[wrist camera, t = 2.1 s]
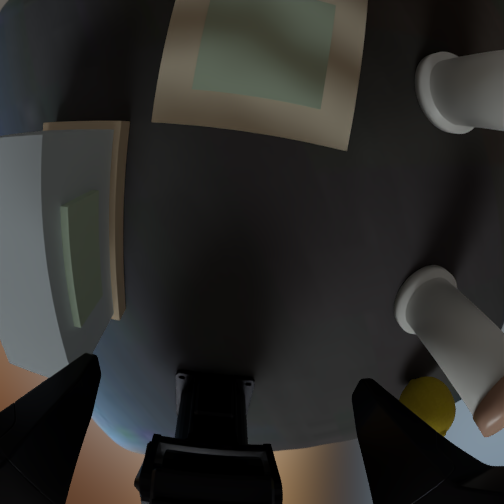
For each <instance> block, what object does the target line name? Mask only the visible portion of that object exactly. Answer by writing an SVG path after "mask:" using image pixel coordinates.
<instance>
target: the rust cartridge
mask: <svg viewBox="0 0 504 504" xmlns="http://www.w3.org/2000/svg"><path fill="white" fill-rule="evenodd" d="M394 316H395V319H396V320H397V322H398V323H399V324H400V326H401V327H402V328H403V330H404V331H406V332H408V333H411V334H416V335H417V336H418V337H419V339H420V340H421V341H422V343H423V344H424V345H425V347H426V348H427V349H428V351H429V352H430V354H431V355H432V356H433V358H434V359H435V361H436V362H437V363H438V365H439V366H440V368H441V369H442V370H443V372H444V373H445V375H446V376H447V377H448V379H449V380H450V382H451V383H452V385H453V386H454V388H455V389H456V391H457V392H458V394H459V395H460V397H461V398H462V400H463V401H464V403H465V404H466V406H467V407H468V409H469V410H470V412H471V413H472V415H473V420H474V421H475V423H476V425H477V426H478V427H479V430H480V431H481V433H482V434H483V436H484V437H489V436H491V435H493V434H495V433H497V432H498V431H500V430H501V429H502V428H504V333H503V332H502V331H501V330H500V329H499V328H498V327H497V326H496V325H495V324H494V323H493V322H492V321H491V320H490V319H489V318H488V317H487V316H486V315H485V314H484V313H483V312H482V311H481V310H480V309H479V308H477V307H476V306H475V305H474V304H473V303H472V302H471V301H470V300H469V299H468V298H467V297H466V296H464V295H463V294H462V293H461V292H460V291H459V290H458V289H457V284H456V281H455V278H454V277H453V275H452V274H450V273H449V272H448V271H447V270H446V269H444V268H443V267H441V266H438V265H429V266H425V267H423V268H421V269H419V270H417V271H416V272H414V273H413V274H412V275H411V276H410V277H409V278H408V279H407V280H406V281H405V282H404V283H403V285H402V286H401V288H400V289H399V291H398V293H397V295H396V298H395V302H394Z"/></svg>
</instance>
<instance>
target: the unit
mask: <svg viewBox="0 0 504 504" xmlns="http://www.w3.org/2000/svg"><path fill="white" fill-rule="evenodd" d="M129 127H130V121H66V122H48V123H44V124H43V131H36V132H27V133H19V134H11V135H4V136H0V340H1V343H2V345H3V348H4V350H5V353H6V355H7V358H8V360H9V363H11V364H13V365H16V366H18V367H21V368H23V369H26V370H29V371H31V372H34V373H37V374H40V375H42V376H46V377H48V378H50V377H51V376H52V375H54V374H55V373H57V372H58V371H60V370H61V369H62V368H64V367H65V366H67V365H68V364H70V363H71V362H72V361H74V360H75V359H77V358H78V357H80V356H81V355H83V354H84V353H90V354H92V353H93V351H94V349H95V347H96V345H97V344H98V342H99V340H100V338H101V336H102V334H103V332H104V331H105V329H106V327H107V325H108V323H109V321H110V320H111V319H115V320H120V319H121V317H122V315H123V313H124V311H125V309H126V305H125V289H124V264H123V211H124V186H125V170H126V157H127V146H128V136H129Z"/></svg>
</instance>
